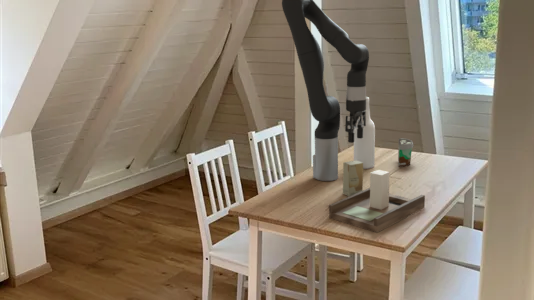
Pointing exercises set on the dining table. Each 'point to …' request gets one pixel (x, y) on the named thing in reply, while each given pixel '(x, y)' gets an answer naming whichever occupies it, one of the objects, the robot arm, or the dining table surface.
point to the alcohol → (365, 142)
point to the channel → (374, 210)
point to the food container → (404, 152)
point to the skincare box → (352, 177)
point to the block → (379, 189)
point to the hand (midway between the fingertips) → (355, 140)
